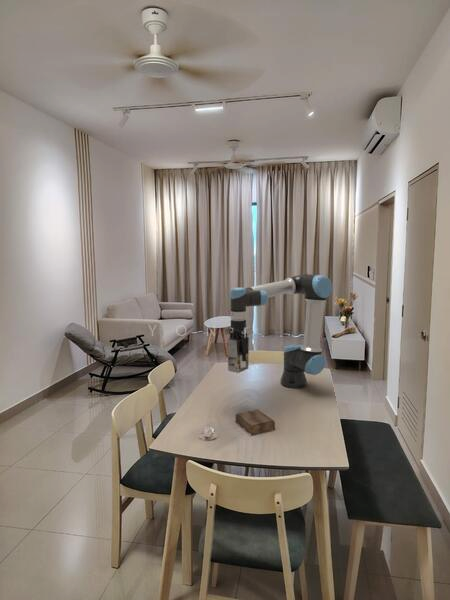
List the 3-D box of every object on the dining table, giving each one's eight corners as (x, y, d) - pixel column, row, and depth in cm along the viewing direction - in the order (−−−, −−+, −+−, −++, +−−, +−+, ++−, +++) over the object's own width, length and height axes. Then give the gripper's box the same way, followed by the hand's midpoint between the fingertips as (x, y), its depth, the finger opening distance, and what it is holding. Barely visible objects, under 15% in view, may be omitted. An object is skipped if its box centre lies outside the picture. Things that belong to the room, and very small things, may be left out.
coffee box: (238, 373, 183) (238, 340, 181) (227, 371, 187) (227, 339, 185) (248, 368, 191) (248, 337, 188) (238, 366, 194) (238, 335, 192)
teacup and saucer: (208, 430, 168) (208, 421, 167) (222, 435, 163) (222, 426, 162) (194, 437, 161) (194, 428, 161) (208, 443, 156) (208, 434, 156)
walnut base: (258, 416, 180) (258, 408, 180) (274, 429, 168) (274, 420, 167) (235, 422, 175) (235, 413, 174) (251, 435, 162) (251, 426, 162)
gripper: (221, 316, 193) (222, 360, 196) (242, 324, 174) (242, 371, 177) (234, 315, 197) (235, 358, 200) (256, 322, 178) (256, 369, 181)
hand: (238, 364), depth 188 cm, fingers closed on coffee box, 8 cm apart
